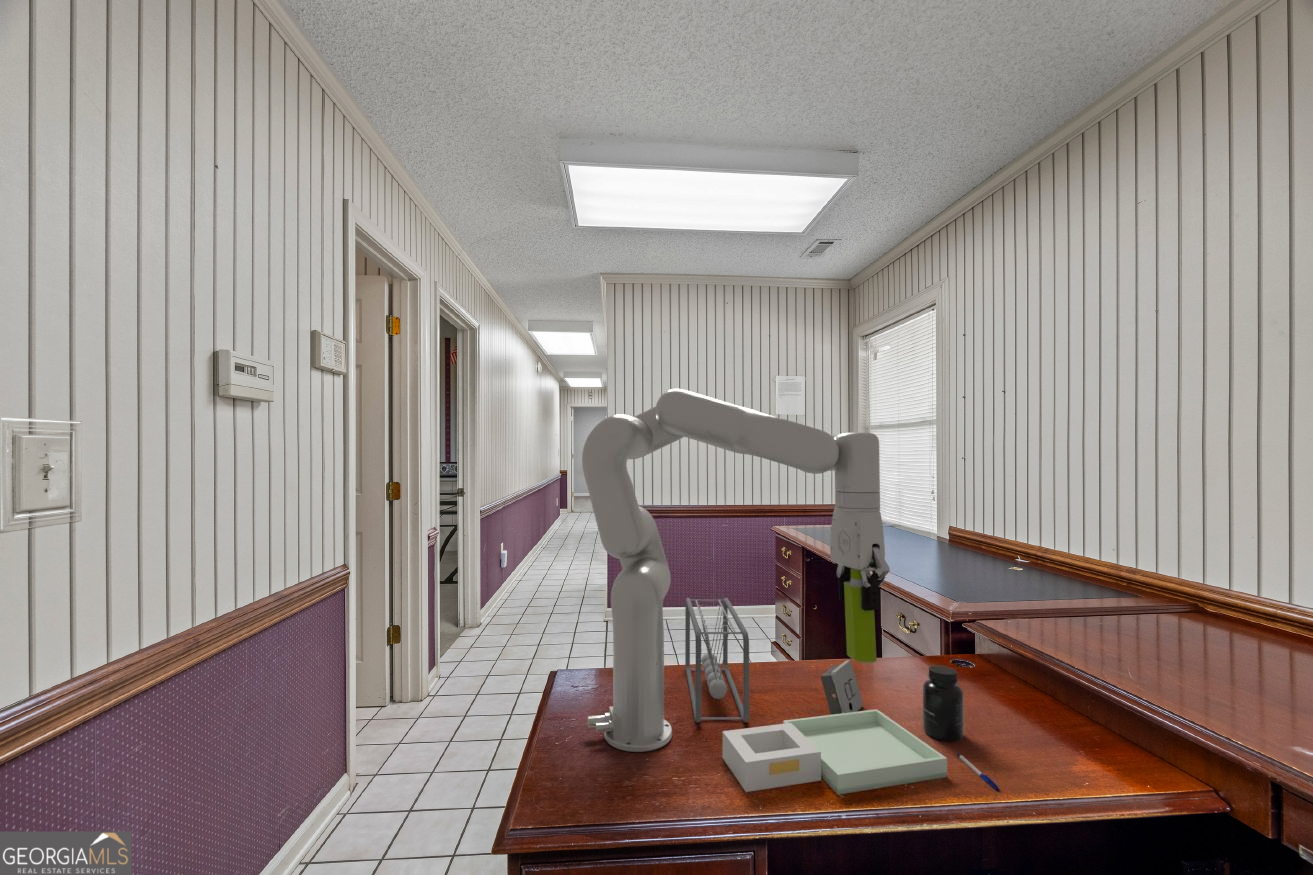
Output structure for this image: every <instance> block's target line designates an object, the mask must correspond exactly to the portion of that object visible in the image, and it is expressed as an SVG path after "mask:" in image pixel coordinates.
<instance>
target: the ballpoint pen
mask: <svg viewBox="0 0 1313 875" xmlns="http://www.w3.org/2000/svg"><path fill="white" fill-rule="evenodd" d="M956 755H957V757H958V758H959V759H960V760H961V761H962V762H963V763H965V765H967V766H968V767H969V768H971V770H972V771H974V773H976V774H977V775H978V776H979V778H981V779H982V780H983V781H984V782H985V783H986V784H988V785H989V787H991V788H992V789H993V790H994V791H995V792H1000V791H1001V790H1000V789H1001V788H999V786H998V785H997V784H996V783H995V782H994V781H993V780H992V778H990V777H989V776H987V775H986V774H984V773H982V772H981V771H980V770H979V769H978V768H977V767H976V766H975V765H974V764H973V763H971V762H970V761H969V760H968V759H967V758H966V757H965V756H964V755H962V754H961V753H957V754H956Z"/></svg>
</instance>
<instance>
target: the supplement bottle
mask: <svg viewBox="0 0 1313 875" xmlns="http://www.w3.org/2000/svg"><path fill="white" fill-rule="evenodd" d="M927 676H928V679H927V680H926V681H924V683H923V685H922V726H923V730H924V732H925V733H926V734H927V735H928V736H929V737H931V738H933V739H935V740H938V741H941V742H947V743H957V742H960V741H962V740H963V738H964V737H965V736H964V734H965V733H964V731H965V730H964V729H965V728H964V727H965V725H964V724H965V723H964V722H965V721H964V718H965V716H964V713H965V712H964V706H965V705H964V704H965V703H964V701H965V699H964V691H963V689H962V688H961V686H960V685H959V684H958V682H959V679H958V671H957V670H955V669H954V668H952V667H950V666H946V665H940V664H939V665H938V664H934V665H930V666H929V667H928V675H927Z"/></svg>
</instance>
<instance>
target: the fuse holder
mask: <svg viewBox="0 0 1313 875" xmlns="http://www.w3.org/2000/svg"><path fill="white" fill-rule="evenodd" d="M722 759H723V761H724V762H725V764H726V765H727V767H728V768H729V769H730V771H731V772H732V774H733V775H734V777H735V778H736V780H737V781H738V782H739V784H740V786H741V787H742V788H743V790H744V792H745V793H748V792H749V793H750V792H754V791H762V790H769V789H775V788H780V787H781V788H782V787H788V786H794V785H800V784H808V783H812V782H820V781H822V777H821V751H820V750H819V749H818V748H817V747H815V746H814V745H813V744H812V743H811V742H810V741H809V740H808V739H807V738H806V737H805V736H804V735H803V734H802V733H801V732H800V731H799V730H798V729H797V728H796V727H795V726H794V725H793V724H792V723H786V724H783V723H779V724H770V725H763V726H754V727H753V726H752V727H747V728H739V729H738V728H737V729H729V730H722Z"/></svg>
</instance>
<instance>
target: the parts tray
mask: <svg viewBox="0 0 1313 875" xmlns="http://www.w3.org/2000/svg"><path fill="white" fill-rule="evenodd" d="M786 723H792V724H793V725H794V726H795V727H796V728H797V729H798V730H799V731H800V732H801V733H802V734H803V735H804V736H805V737H806V738H807V739H808V740H809V741H810V742H811V743H812V744H813V745H814V746H815V747H817V748H818V749H819V750H820V751H821V779H822V780H823V781H825V783H826V784H827V785H828V786H829V787H830V788H831V789H832V790H833V791H834V792H835V793H836V795H839V796H841V795H847V794H850V793H857V792H863V791H871V790H875V789H881V788H882V789H883V788H888V787H896V786H900V785H906V784H911V783H918V782H924V781H926V782H927V781H931V780H932V781H933V780H938V779H944V778H947V777H948V758H947V757H946V756H944V755H943V754H942V753H940V752H939V751H938V750H936V749H935V748H934V747H931V746H930V745H929V744H927V743H926V742H925V741H923V740H922V739H920V738H919V737H918V736H916V735H915V734H913V733H912V732H910V731H909V730H907V729H906V728H904V727H903V726H902V725H900V724H899V723H897V722H896V721H895V720H893V719H891V718H890V717H889V716H888V715H886V714H884V713H883V712H882V711H880V710H878V709H867V710H861V711H859V710H858V712H850V713H842V714H834V715H831V714H827V715H819V716H811V717H803V718H796V719H795V718H793V719H786V720H783V721H782V724H786Z"/></svg>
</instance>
